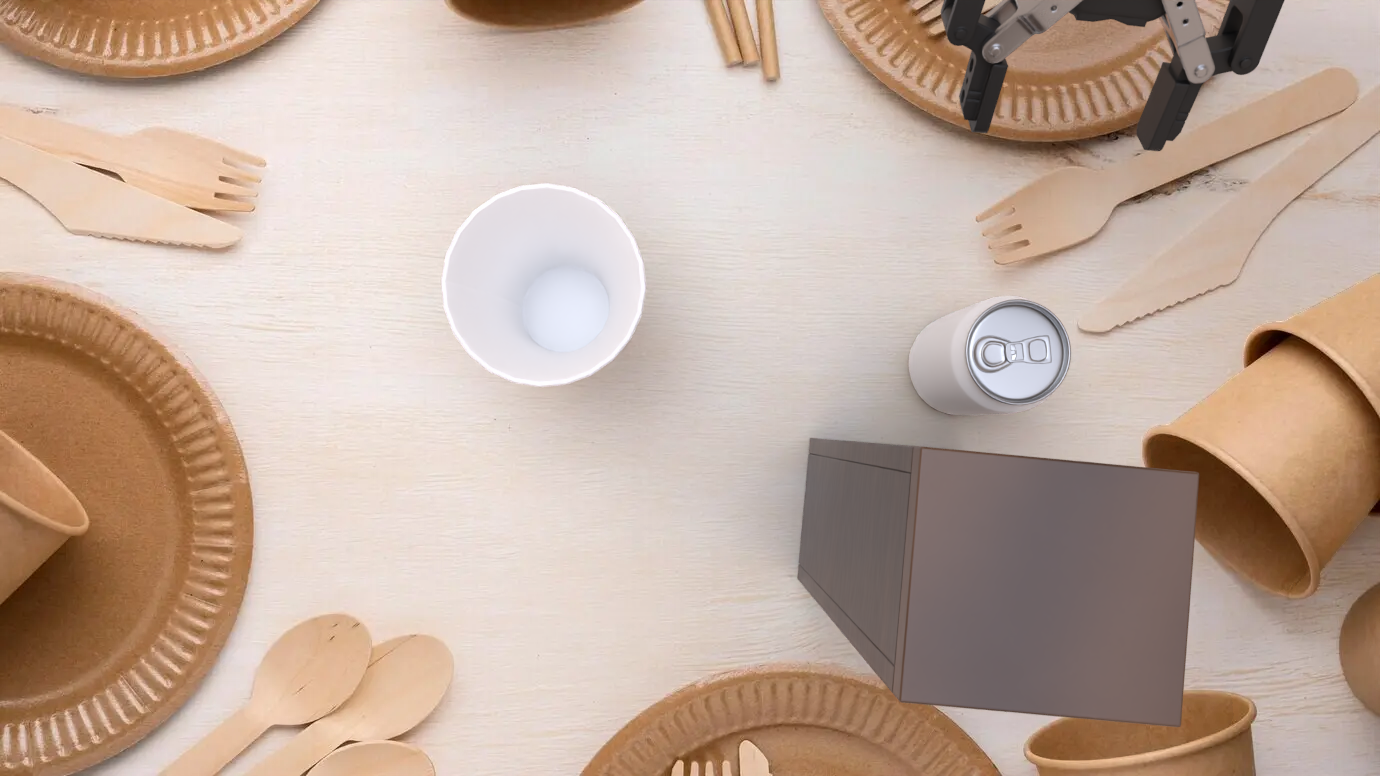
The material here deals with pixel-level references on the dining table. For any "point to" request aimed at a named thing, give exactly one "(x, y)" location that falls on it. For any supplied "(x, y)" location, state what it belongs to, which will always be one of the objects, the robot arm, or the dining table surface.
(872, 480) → the shelf frame
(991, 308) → the can
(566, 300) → the cup
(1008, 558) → the shelf
